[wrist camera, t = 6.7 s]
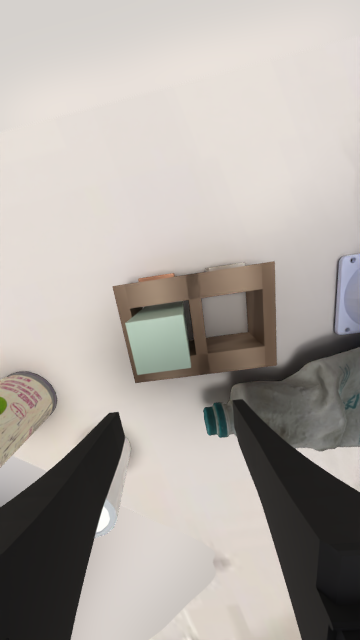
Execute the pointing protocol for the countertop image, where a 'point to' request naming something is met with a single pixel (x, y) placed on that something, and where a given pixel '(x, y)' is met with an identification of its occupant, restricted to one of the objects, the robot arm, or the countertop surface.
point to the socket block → (211, 351)
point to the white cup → (114, 494)
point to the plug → (159, 338)
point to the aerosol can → (22, 409)
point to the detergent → (302, 404)
